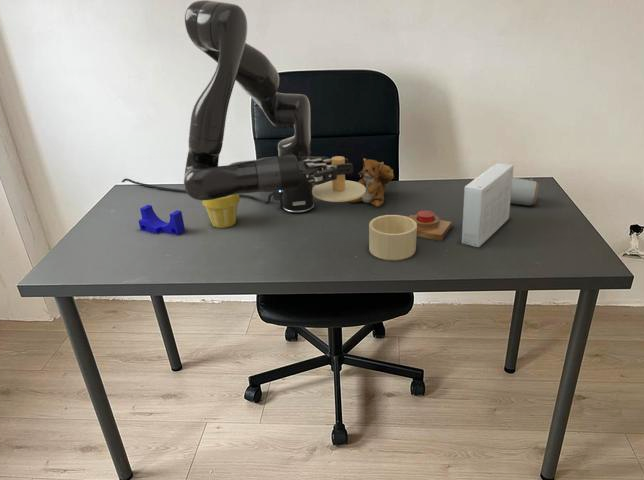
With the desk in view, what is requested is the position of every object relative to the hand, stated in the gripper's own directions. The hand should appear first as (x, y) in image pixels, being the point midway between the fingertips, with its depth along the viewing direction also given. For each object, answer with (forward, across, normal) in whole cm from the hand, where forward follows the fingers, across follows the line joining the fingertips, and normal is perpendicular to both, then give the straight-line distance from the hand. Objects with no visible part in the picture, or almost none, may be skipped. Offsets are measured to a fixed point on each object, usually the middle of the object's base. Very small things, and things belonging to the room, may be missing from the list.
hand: (350, 165), depth 125 cm
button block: (+23, +8, +23) cm, 34 cm away
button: (+23, +8, +20) cm, 32 cm away
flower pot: (-29, +31, +24) cm, 48 cm away
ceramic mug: (+58, +17, +23) cm, 65 cm away
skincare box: (+39, +2, +23) cm, 45 cm away
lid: (-3, 0, +6) cm, 7 cm away
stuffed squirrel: (+17, +34, +23) cm, 44 cm away
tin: (+11, 0, +23) cm, 26 cm away
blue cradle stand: (-46, +31, +24) cm, 60 cm away
